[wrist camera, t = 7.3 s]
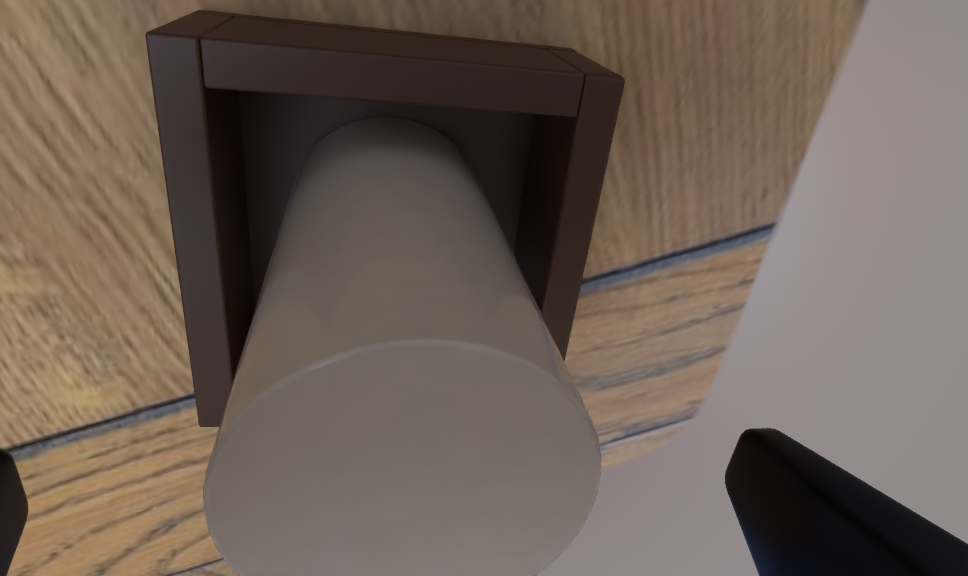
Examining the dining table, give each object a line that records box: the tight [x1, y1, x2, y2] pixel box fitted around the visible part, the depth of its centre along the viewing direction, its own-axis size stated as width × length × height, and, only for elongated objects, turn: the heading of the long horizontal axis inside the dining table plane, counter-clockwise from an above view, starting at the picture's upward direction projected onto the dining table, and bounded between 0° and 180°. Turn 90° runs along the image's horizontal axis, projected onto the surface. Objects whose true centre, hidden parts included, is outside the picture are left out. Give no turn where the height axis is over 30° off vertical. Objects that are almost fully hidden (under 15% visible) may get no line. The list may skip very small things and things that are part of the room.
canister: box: [203, 117, 601, 576], centre depth 11 cm, size 5×5×9 cm
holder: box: [145, 10, 625, 427], centre depth 14 cm, size 8×8×4 cm
